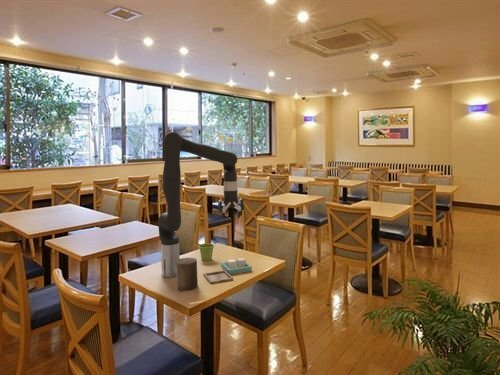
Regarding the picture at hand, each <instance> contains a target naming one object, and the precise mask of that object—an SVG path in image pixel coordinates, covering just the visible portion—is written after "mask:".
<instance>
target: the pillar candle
mask: <svg viewBox="0 0 500 375" xmlns="http://www.w3.org/2000/svg"><path fill="white" fill-rule="evenodd" d="M176 262H177V275H176V281H177V282H176V283H177V290H178V291H180V292H186V291H187V292H188V291H192V290H196V289H197V288H198V287H199V285H198V261H197V258H195V257H182V258H180V259H179V260H177V261H176Z"/></svg>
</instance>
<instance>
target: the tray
mask: <svg viewBox="0 0 500 375" xmlns="http://www.w3.org/2000/svg"><path fill="white" fill-rule="evenodd" d="M202 274H203V277H204V278H205V279H206V280H207V281H208V283H209V284H210V285H213V284H217V283H223V282H224V283H225V282H229V281H233V280H234V278H233V276H232V274H229V273H228V272H227V271H226V270H224V269H222V270H215V271H211V272H203V273H202Z"/></svg>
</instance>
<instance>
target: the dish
mask: <svg viewBox="0 0 500 375" xmlns="http://www.w3.org/2000/svg"><path fill="white" fill-rule="evenodd" d="M220 264H221V265H220V266H221V268H222V270H226V271H227V272H228V273H229V274H230V275H235V274H241V273H247V272H248V273H249V272H252V271H253V270H252V266H251V265H250V264H249V263H248V262H247V261H246V267H241V268H235V269H229V268H228V267H227V261H224V262H223V261H221V263H220Z"/></svg>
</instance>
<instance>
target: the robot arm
mask: <svg viewBox="0 0 500 375" xmlns="http://www.w3.org/2000/svg"><path fill="white" fill-rule="evenodd" d="M163 146H164V164H163V171H162V186H161V187H162V191H163V194H164V197H165V200H166V204H167V212H163V213H162V214H161V215H160V216H159V218H158V222H157V225H158V234H159V235H158V236H159V240H160V242H161V244H160V245H161V246H160V247H161V256H160V257H161V258H160V260H161V274H162V277H163V278H175V277H177V262H176V261H177V260H179V259H181V256H180V255H181V254H180V239H179V236H178V235H177V234H176V232H177V231H178V230H179V229H180V228H181V225H182V214H181V213H182V212H181V185H182V184H181V182H182V180H181V179H182V177H181V174H182V173H181V164H180V161H181V160H180V158H181V152H185V153H189V154H192V155H193V156H197V157H200V158H204V159H206V160H209V161H213V162H216V163H217V162H218V163H220V164H222V166H223V200H218V201H217V211H218V212H219V213H221V215H220V216H221V219H222V220H226V211H227V210H228V209H231V208H233V209H236V210H237V211H236V218H237V219H240V218H241V211H244V210H245V206H244V199H242V198H238V196H239V195H238V194H239V193H238V175H237V171H236V170H237V169H236V164H237V163H238V155H236V153H233V152H230V151H226V150H223V149H219V148H217V147H214V146H210V145H208V144H204V143H199V142H195V141H191V140H188V139H186V138H184V137H182V136H181V135H180V134H179V133H178V132H175V131H170V132H168V133H166V134H165V135H164V137H163ZM238 203H239V205H238ZM223 204H224V205H223ZM222 205H223V206H222Z"/></svg>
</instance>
